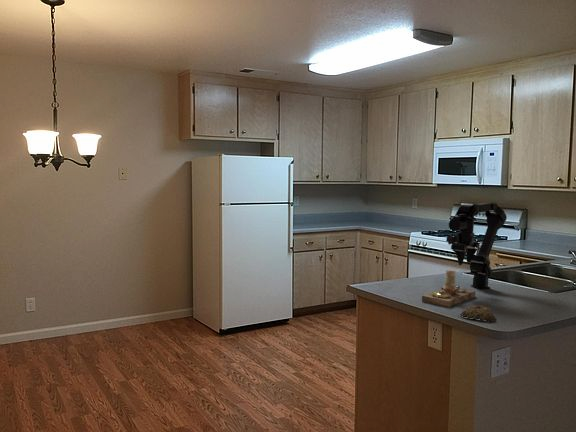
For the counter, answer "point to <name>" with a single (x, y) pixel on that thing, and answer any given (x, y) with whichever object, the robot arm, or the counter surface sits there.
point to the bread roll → (478, 313)
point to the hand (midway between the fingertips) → (464, 264)
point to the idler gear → (450, 282)
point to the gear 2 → (461, 289)
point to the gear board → (448, 301)
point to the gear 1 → (441, 294)
